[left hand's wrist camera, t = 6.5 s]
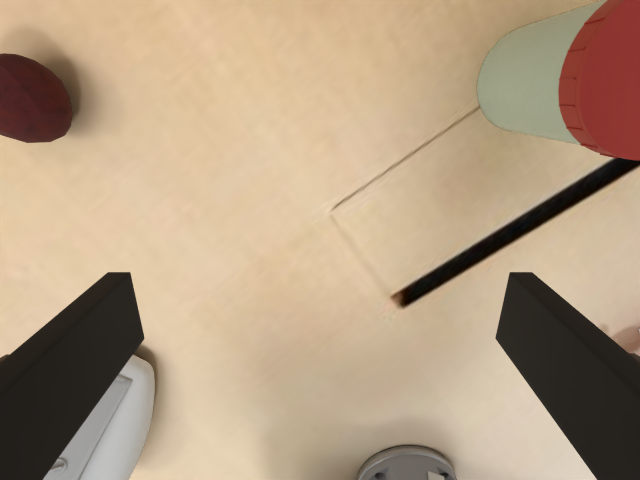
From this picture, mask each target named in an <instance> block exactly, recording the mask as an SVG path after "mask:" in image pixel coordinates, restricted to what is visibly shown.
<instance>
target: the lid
mask: <svg viewBox="0 0 640 480" xmlns="http://www.w3.org/2000/svg"><path fill="white" fill-rule="evenodd" d="M567 52H568V53H567V55H566V57H565V60H564V63H563V66H562V70H561V75H560V78H559V89H558V95H559V107H560V112H561V115H562V118H563V121H564V123H565V125H566V127H567V128H566V129H568V130H569V132H570V133H571V134H572V136H573V137H574V138H575V139H576V140H577V141H578V142H579V143H580V145H581V146H585V147H586V148H588V149H590V150H592V151H595V152H598V153H600V155H604V156H609V157H613V158H618V157H620V158H624V159H631V160H640V0H607V1H606V2H605V3H604V4H603V5H602V6H600V7H599V8H598V9H597V10H596V11H595V12H594V13H593V14H592V16H591V17H590V18H589V19H588V20H587V21H586V22H585V23H584V25H583V27H582V28H581V29H580V31H579V32H578V34H577V35H576V37H575V39H574V40H573V42H572V44H571V46H570V48H569V50H568V51H567Z"/></svg>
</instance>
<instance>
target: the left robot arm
mask: <svg viewBox="0 0 640 480" xmlns="http://www.w3.org/2000/svg"><path fill="white" fill-rule="evenodd" d="M143 340H144V334H143V329H142V325H141V320H140V316H139V311H138V306H137V302H136V297H135V292H134V288H133V283H132V279H131V274H130V272H108V273H107V274H105V275H104V276H103V277H102V278H101V279H100V280H98V281H97V282H96V283H95V284H94V285H92V286H91V287H90V288H89V289H88V290H86V291H85V292H84V293H83V294H82V295H80V296H79V297H78V298H77V299H76V300H74V301H73V302H72V303H71V304H70V305H69V306H67V307H66V308H65V309H64V310H63V311H61V312H60V313H59V314H58V315H57V316H55V317H54V318H53V319H52V320H51V321H49V322H48V323H47V324H46V325H45V326H44V327H42V328H41V329H40V330H39V331H38V332H36V333H35V334H34V335H33V336H32V337H30V338H29V339H28V340H27V341H26V342H24V343H23V344H22V345H21V346H20V347H18V348H17V349H16V350H15V351H14V352H13V353H11V354H10V355H5V356H3V357H1V358H0V480H43V479H44V477H45V476H46V475H47V473H48V472H49V470H50V469H51V468H52V466H53V465H54V463H55V462H56V461H57V459H58V458H59V456H60V455H61V454H62V452H63V451H64V450H65V448H66V447H67V445H68V444H69V443H70V441H71V440H72V438H73V437H74V436H75V434H76V433H77V431H78V430H79V429H80V427H81V426H82V425H83V423H84V422H85V420H86V419H87V418H88V416H89V415H90V413H91V412H92V411H93V409H94V408H95V406H96V405H97V404H98V402H99V401H100V399H101V398H102V397H103V395H104V394H105V393H106V391H107V390H108V388H109V387H110V386H111V384H112V383H113V381H114V380H115V379H116V377H117V376H118V374H119V373H120V372H121V370H122V369H123V368H124V366H125V365H126V363H127V362H128V361H129V359H130V358H131V356H132V355H133V354H134V352H135V351H136V349H137V348H138V347H139V345H140V344H141V343H142V341H143ZM496 340H497V341H498V343H499V344H500V345H501V347H502V348H503V349H504V351H505V352H506V354H507V355H508V356H509V358H510V359H511V361H512V362H513V363H514V365H515V366H516V368H517V369H518V370H519V372H520V373H521V374H522V376H523V377H524V379H525V380H526V381H527V383H528V384H529V386H530V387H531V388H532V390H533V391H534V393H535V394H536V395H537V397H538V398H539V399H540V401H541V402H542V404H543V405H544V406H545V408H546V409H547V411H548V412H549V413H550V415H551V416H552V418H553V419H554V420H555V422H556V423H557V425H558V426H559V427H560V429H561V430H562V431H563V433H564V434H565V436H566V437H567V438H568V440H569V441H570V443H571V444H572V445H573V447H574V448H575V450H576V451H577V452H578V454H579V455H580V456H581V458H582V459H583V461H584V462H585V463H586V465H587V466H588V468H589V469H590V470H591V472H592V473H593V475H594V476H595V477H596V479H597V480H640V356H638V355H636V354H634V353H627V352H626V351H625V350H624V349H623V348H622V347H620V346H619V345H618V344H617V343H616V342H614V341H613V340H612V339H611V338H610V337H608V336H607V335H606V334H605V333H604V332H602V331H601V330H600V329H599V328H598V327H596V326H595V325H594V324H593V323H592V322H591V321H589V320H588V319H587V318H586V317H585V316H583V315H582V314H581V313H580V312H579V311H577V310H576V309H575V308H574V307H573V306H571V305H570V304H569V303H568V302H567V301H566V300H564V299H563V298H562V297H561V296H560V295H558V294H557V293H556V292H555V291H554V290H552V289H551V288H550V287H549V286H548V285H546V284H545V283H544V282H543V281H542V280H540V279H539V278H538V277H537V276H536V275H535V274H533V273H532V272H510V274H509V279H508V283H507V288H506V292H505V297H504V302H503V306H502V311H501V315H500V320H499V325H498V329H497V334H496ZM357 480H457V479H456V476H455V473H454V470H453V467H452V465H451V464H450V462H449V461H448V460H447V459H446V458H445V457H444V456H443V455H441V454H440V453H438V452H436V451H434V450H431V449H428V448H424V447H419V446H400V447H394V448H390V449H387V450H384V451H382V452H380V453H378V454H376V455H374V456H373V457H371V458H370V459H369V460H367V461H366V462H365V463H364V465H363V466H362V467H361V469H360V470H359V473H358V475H357Z"/></svg>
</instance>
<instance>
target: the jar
mask: <svg viewBox="0 0 640 480" xmlns="http://www.w3.org/2000/svg"><path fill="white" fill-rule="evenodd" d="M606 1H607V0H601V1H598V2H595V3H592V4H589V5H586V6H583V7H580V8H577V9H574V10H571V11H568V12H565V13H562V14H559V15H556V16H553V17H550V18H547V19H544V20H541V21H538V22H535V23H532V24H529V25H526V26H523V27H520V28H518V29H516V30H513V31H512V32H510V33H508V34H507V35H505V36H504V37H503V38H502V39H500V40H499V41H498V42H497V43H496V44H495V45H494V47H493V48H492V49H491V50H490V52H489V53H488V55H487V56H486V58H485V60H484V62H483V64H482V67H481V69H480V73H479V76H478V83H477V95H478V101H479V105H480V107H481V110H482V111H483V113H484V115H485V116H486V117H487V119H488V120H489V121H490V122H491V123H492V124H494V125H495V126H497V127H499V128H501V129H504V130H507V131H512V132H517V133H522V134H527V135H533V136H538V137H543V138H548V139H553V140H559V141H564V142H569V143H574V144H579V145H580V143H579V142H578V141H577V140H576V139H575V138H574V137H573V136H572V134H571V133H570V132H569V130H568V129H566V128H567V127H566V125H565V123H564V121H563V118H562V115H561V112H560V107H559V95H558V89H559V78H560V75H561V70H562V66H563V63H564V60H565V57H566V55H567V53H568V52H567V51H568V50H569V48H570V46H571V44H572V42H573V40H574V39H575V37H576V35H577V34H578V32H579V31H580V29H581V28H582V27H583V25H584V23H585V22H586V21H587V20H588V19H589V18H590V17H591V16H592V14H593V13H594V12H595V11H596V10H597V9H598V8H599V7H600V6H602V5H603V4H604V3H605V2H606Z"/></svg>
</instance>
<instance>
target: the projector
mask: <svg viewBox="0 0 640 480" xmlns="http://www.w3.org/2000/svg"><path fill="white" fill-rule="evenodd" d="M154 393H155V379H154V371H153V368H152V366H151V365H150V364H149V363H148V362H147V361H145V360H143V359H140V358H139V357H137V356H135V355H132V356H131V358H130V359H129V361H128V362H127V363H126V365H125V366H124V368H123V369H122V370H121V372H120V373H119V374H118V376H117V377H116V379H115V380H114V381H113V383H112V384H111V386H110V387H109V388H108V390H107V391H106V393H105V394H104V395H103V397H102V398H101V399H100V401H99V402H98V404H97V405H96V406H95V408H94V409H93V411H92V412H91V413H90V415H89V416H88V418H87V419H86V420H85V422H84V423H83V425H82V426H81V427H80V429H79V430H78V431H77V433H76V434H75V436H74V437H73V438H72V440H71V441H70V443H69V444H68V445H67V447H66V448H65V450H64V451H63V452H62V454H61V455H60V456H59V458H58V459H57V461H56V462H55V463H54V465H53V466H52V468H51V469H50V470H49V472H48V473H47V475H46V476H45V477H44V479H43V480H129V478H130V476H131V474H132V472H133V470H134V468H135V466H136V464H137V462H138V459H139V457H140V455H141V452H142V450H143V447H144V444H145V441H146V439H147V435H148V432H149V428H150V424H151V419H152V413H153V406H154Z"/></svg>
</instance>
